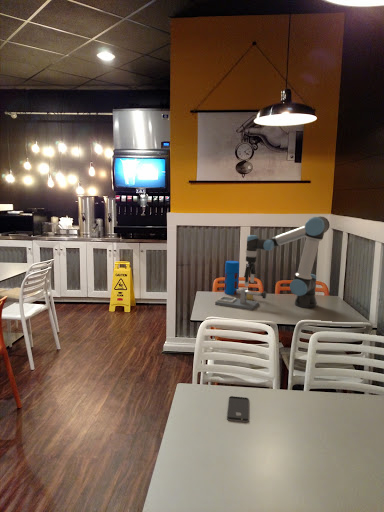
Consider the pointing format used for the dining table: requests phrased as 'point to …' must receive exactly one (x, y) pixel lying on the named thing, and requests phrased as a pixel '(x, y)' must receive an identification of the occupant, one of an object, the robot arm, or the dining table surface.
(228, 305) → the keeper base
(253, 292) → the retaining shaft
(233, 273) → the thermos
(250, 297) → the spacer collar
